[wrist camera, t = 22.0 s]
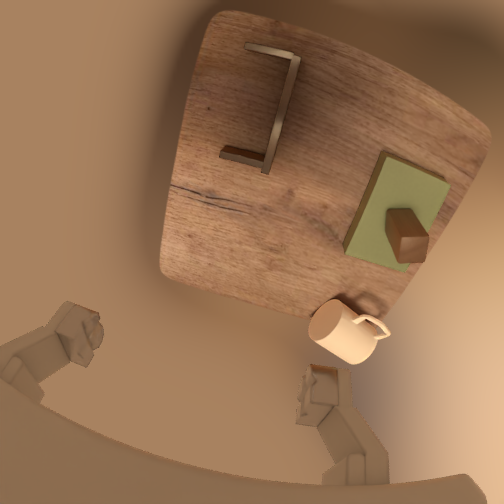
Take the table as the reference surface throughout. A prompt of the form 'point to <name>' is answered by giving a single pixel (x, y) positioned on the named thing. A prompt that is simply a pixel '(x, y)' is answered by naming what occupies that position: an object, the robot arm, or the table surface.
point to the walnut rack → (267, 160)
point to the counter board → (392, 207)
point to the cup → (345, 331)
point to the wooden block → (406, 236)
